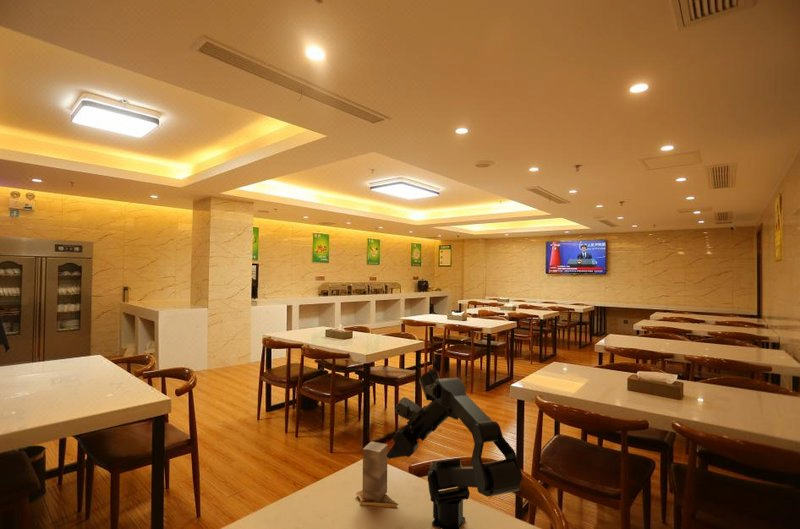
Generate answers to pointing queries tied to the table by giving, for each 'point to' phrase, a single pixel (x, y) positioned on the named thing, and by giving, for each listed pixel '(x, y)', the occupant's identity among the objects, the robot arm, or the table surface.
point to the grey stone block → (374, 471)
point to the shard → (384, 502)
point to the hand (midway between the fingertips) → (394, 449)
